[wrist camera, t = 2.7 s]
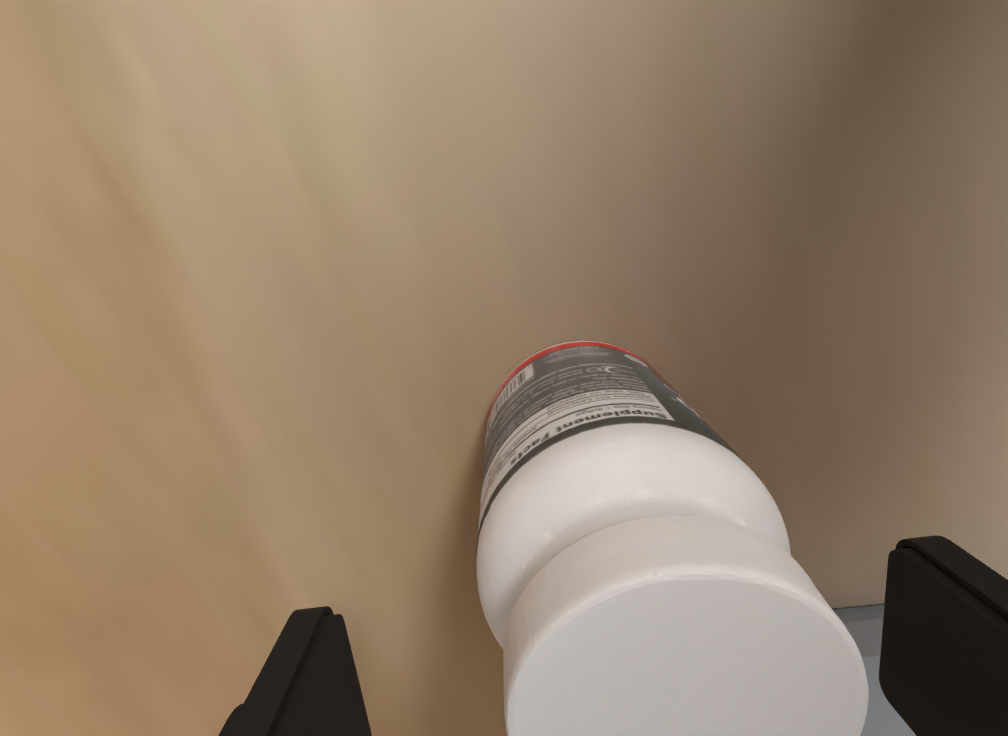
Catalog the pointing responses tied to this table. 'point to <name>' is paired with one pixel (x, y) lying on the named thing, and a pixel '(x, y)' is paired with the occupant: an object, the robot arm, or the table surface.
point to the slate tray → (873, 669)
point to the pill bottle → (645, 568)
